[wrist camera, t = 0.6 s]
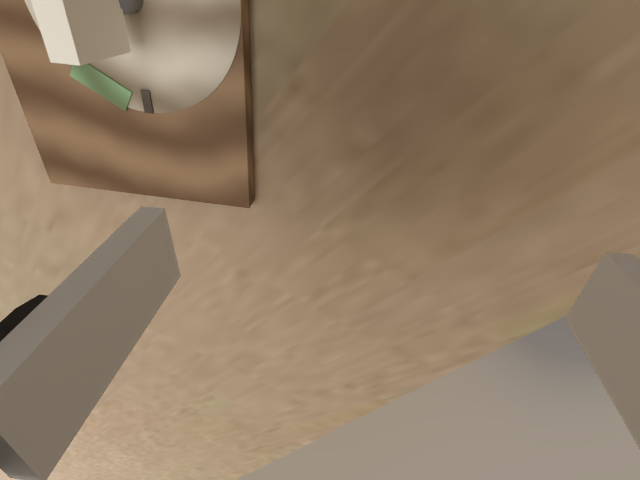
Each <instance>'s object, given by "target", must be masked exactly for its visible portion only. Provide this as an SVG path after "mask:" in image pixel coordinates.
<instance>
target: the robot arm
mask: <svg viewBox="0 0 640 480" xmlns="http://www.w3.org/2000/svg"><path fill="white" fill-rule="evenodd" d="M180 276H181V275H180V271H179V267H178V262H177V258H176V254H175V250H174V246H173V241H172V237H171V233H170V229H169V224H168V220H167V216H166V212H165V209H163V208H153V207H143V206H141V207H140V208H139V209H138V210H137V211H136V212H135V213H134V214H133V215H132V216H131V217H130V218H129V219H128V220H127V221H126V222H125V223H123V224H122V225H121V226H120V227H119V228H118V229H117V230H116V231H115V232H114V233H113V234H112V235H111V236H110V237H109V238H108V239H107V240H106V241H105V242H104V243H103V244H102V245H101V246H100V247H98V248H97V249H96V250H95V251H94V252H93V253H92V254H91V255H90V256H89V257H88V258H87V259H86V260H85V261H84V262H83V263H82V264H81V265H80V266H79V267H78V268H77V269H76V270H75V271H73V272H72V273H71V274H70V275H69V276H68V277H67V278H66V279H65V280H64V281H63V282H62V283H61V284H60V285H59V286H58V287H57V288H56V289H55V290H54V291H53V292H52V293H51V294H50V295H48V296H46V295H38V296H36V297H35V298H33V299H31V300H29V301H28V302H26V303H24V304H23V305H21V306H19V307H17V308H16V309H14V310H13V311H12V312H11V313H10V314H9V315H8V316H7V317H6V318H5V319H3V320H2V321H1V322H0V468H1V469H2V470H3V471H4V472H5V473H6V474H7V475H8V476H9V477H10V478H15V479H22V480H47V478H48V476H49V475H50V473H51V472H52V470H53V469H54V467H55V466H56V464H57V463H58V461H59V460H60V458H61V457H62V455H63V454H64V452H65V451H66V449H67V448H68V446H69V445H70V443H71V442H72V440H73V439H74V437H75V435H76V434H77V432H78V431H79V429H80V428H81V426H82V425H83V423H84V422H85V420H86V419H87V417H88V416H89V414H90V413H91V411H92V410H93V408H94V407H95V405H96V404H97V402H98V401H99V399H100V397H101V396H102V394H103V393H104V391H105V390H106V388H107V387H108V385H109V384H110V382H111V381H112V379H113V378H114V376H115V375H116V373H117V372H118V370H119V369H120V367H121V366H122V364H123V363H124V361H125V360H126V358H127V356H128V355H129V353H130V352H131V350H132V349H133V347H134V346H135V344H136V343H137V341H138V340H139V338H140V337H141V335H142V334H143V332H144V331H145V329H146V328H147V326H148V325H149V323H150V322H151V320H152V319H153V317H154V315H155V314H156V312H157V311H158V309H159V308H160V306H161V305H162V303H163V302H164V300H165V299H166V297H167V296H168V294H169V293H170V291H171V290H172V288H173V287H174V285H175V284H176V282H177V281H178V279H179V277H180ZM565 320H566V321H567V323H568V325H569V327H570V328H571V330H572V332H573V334H574V335H575V337H576V339H577V341H578V342H579V344H580V346H581V348H582V349H583V351H584V353H585V355H586V356H587V358H588V359H589V361H590V363H591V365H592V367H593V368H594V370H595V372H596V373H597V375H598V377H599V379H600V381H601V382H602V384H603V386H604V387H605V389H606V391H607V393H608V394H609V396H610V398H611V399H612V401H613V403H614V405H615V407H616V408H617V410H618V412H619V414H620V415H621V417H622V419H623V421H624V422H625V424H626V426H627V427H628V429H629V431H630V433H631V434H632V436H633V438H634V440H635V441H636V443H637V445H638V446H639V448H640V260H639V259H638V258H637V257H636V256H635V255H633V254H622V253H612V252H606V253H605V254H604V256H603V257H602V259H601V261H600V262H599V264H598V266H597V267H596V269H595V270H594V272H593V274H592V275H591V277H590V279H589V280H588V282H587V283H586V285H585V287H584V288H583V290H582V291H581V293H580V295H579V296H578V298H577V300H576V301H575V303H574V304H573V306H572V308H571V309H570V311H569V313H568V314H567V316H566V317H565Z"/></svg>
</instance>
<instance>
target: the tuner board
mask: <svg viewBox="0 0 640 480" xmlns="http://www.w3.org/2000/svg"><path fill="white" fill-rule="evenodd" d="M124 20H125V25H126V30H127V35H128V40H129V45H130V50H131V52H129V53H125V54H122V55H118V56H114V57H111V58H107V59H103V60H100V61H96V62H92V63H88V64H85V65H81V66H79V65H69V64H60V63H51V62H50V59H49V56H48V53H47V50H46V47H45V44H44V40H43V37H42V34H41V31H40V28H39V25H38V22H37V18H36V15H35V12H34V9H33V6H32V3H31V0H0V51H1V54H2V56H3V59H4V61H5V64H6V67H7V69H8V72H9V75H10V77H11V80H12V82H13V85H14V88H15V90H16V93H17V95H18V98H19V101H20V103H21V106H22V109H23V111H24V114H25V116H26V119H27V122H28V124H29V127H30V129H31V132H32V135H33V137H34V140H35V143H36V145H37V148H38V150H39V153H40V156H41V158H42V161H43V163H44V166H45V169H46V171H47V174H48V176H49V179H50V182H51V183H56V184H64V185H72V186H80V187H88V188H95V189H103V190H111V191H119V192H127V193H135V194H143V195H150V196H158V197H166V198H174V199H182V200H190V201H198V202H205V203H213V204H221V205H229V206H237V207H245V208H250V206H251V204H252V202H253V201H254V170H253V137H252V103H251V70H250V36H249V3H248V0H143V5H142V8H141V10H140V11H139V12H137V13H135V14H127V15H124Z"/></svg>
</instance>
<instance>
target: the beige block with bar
mask: <svg viewBox="0 0 640 480" xmlns="http://www.w3.org/2000/svg"><path fill="white" fill-rule="evenodd" d="M31 3H32V6H33V9H34V12H35V15H36V18H37V22H38V25H39V28H40V31H41V34H42V37H43V40H44V44H45V47H46V50H47V53H48V56H49V59H50V62H51V63H60V64H69V65H79V66H81V65H85V64H88V63H92V62H96V61H100V60H103V59H107V58H111V57H114V56H118V55H122V54H125V53H129V52H131V50H130V45H129V40H128V35H127V30H126V25H125V20H124V15H127V14H135V13H137V12H139V11H140V10H141V8H142V5H143V0H31Z"/></svg>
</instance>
